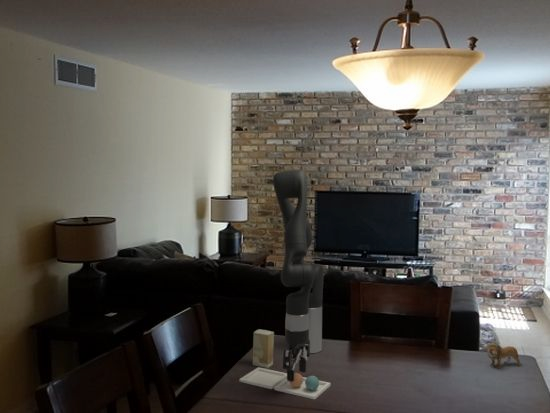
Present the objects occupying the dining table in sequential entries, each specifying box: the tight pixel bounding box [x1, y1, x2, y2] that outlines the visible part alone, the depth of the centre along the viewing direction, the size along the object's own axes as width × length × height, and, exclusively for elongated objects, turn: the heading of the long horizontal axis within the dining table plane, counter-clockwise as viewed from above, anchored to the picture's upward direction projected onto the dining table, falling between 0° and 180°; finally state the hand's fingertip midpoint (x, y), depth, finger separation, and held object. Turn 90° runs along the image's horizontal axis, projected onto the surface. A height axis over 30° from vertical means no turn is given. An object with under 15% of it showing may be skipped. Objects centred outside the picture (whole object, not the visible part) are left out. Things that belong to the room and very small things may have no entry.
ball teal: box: [305, 375, 320, 390], centre depth 177 cm, size 4×4×4 cm
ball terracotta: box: [289, 372, 303, 387], centre depth 179 cm, size 4×4×4 cm
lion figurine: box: [486, 342, 521, 369], centre depth 199 cm, size 15×5×9 cm, turn 114°
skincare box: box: [252, 328, 275, 369], centre depth 198 cm, size 6×4×12 cm
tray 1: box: [238, 366, 287, 390], centre depth 185 cm, size 12×12×1 cm
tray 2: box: [273, 376, 332, 400], centre depth 178 cm, size 12×14×1 cm
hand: (296, 376), depth 179 cm, fingers open, 8 cm apart
